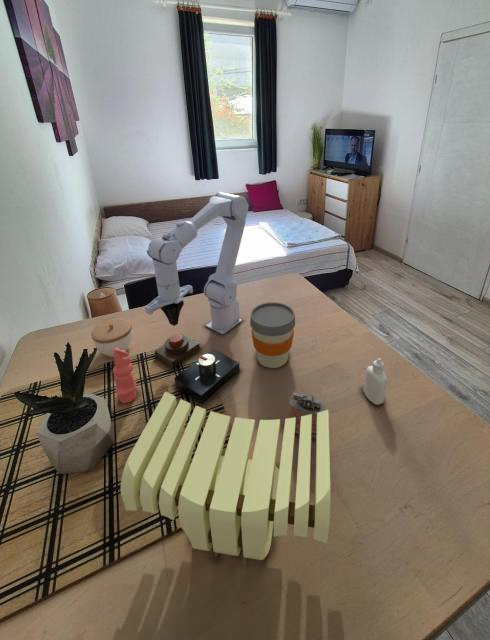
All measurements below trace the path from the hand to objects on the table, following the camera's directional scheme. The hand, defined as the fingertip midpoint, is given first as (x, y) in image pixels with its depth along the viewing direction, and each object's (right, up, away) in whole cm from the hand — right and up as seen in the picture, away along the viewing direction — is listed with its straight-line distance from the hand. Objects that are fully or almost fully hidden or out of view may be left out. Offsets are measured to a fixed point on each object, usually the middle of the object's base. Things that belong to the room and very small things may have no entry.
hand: (173, 323), depth 93 cm
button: (0, -6, +3) cm, 7 cm away
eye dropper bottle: (+54, -16, -11) cm, 57 cm away
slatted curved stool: (+22, -26, -34) cm, 48 cm away
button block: (0, -10, +4) cm, 10 cm away
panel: (+11, -14, -5) cm, 18 cm away
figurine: (-8, -16, -11) cm, 21 cm away
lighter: (+36, -20, -19) cm, 45 cm away
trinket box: (-19, -9, +5) cm, 22 cm away
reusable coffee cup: (+28, -10, +3) cm, 30 cm away
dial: (+11, -11, -7) cm, 17 cm away
